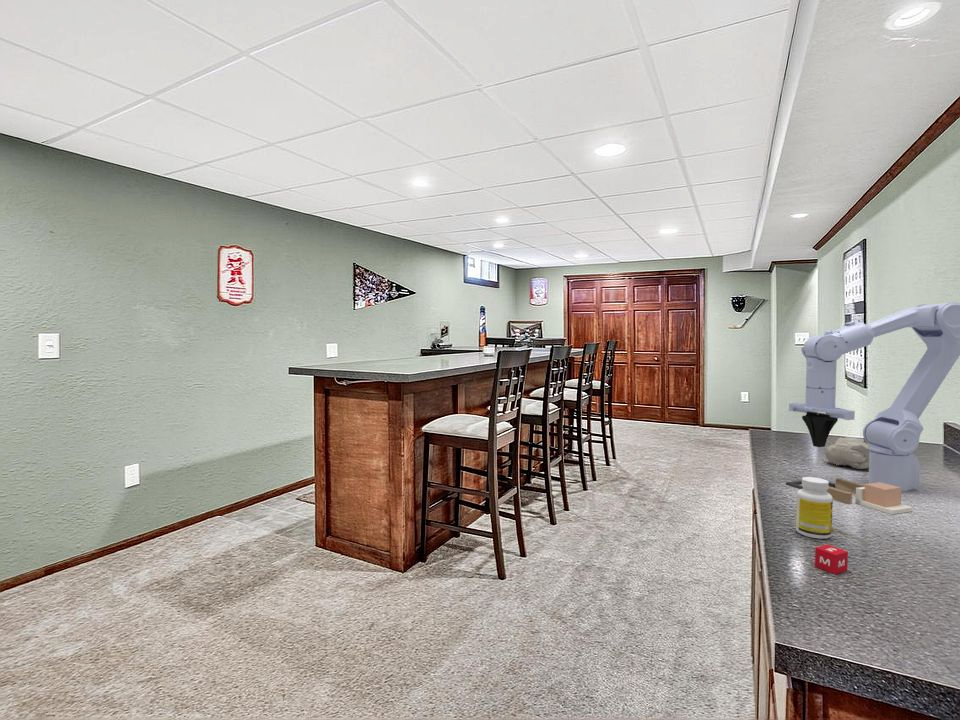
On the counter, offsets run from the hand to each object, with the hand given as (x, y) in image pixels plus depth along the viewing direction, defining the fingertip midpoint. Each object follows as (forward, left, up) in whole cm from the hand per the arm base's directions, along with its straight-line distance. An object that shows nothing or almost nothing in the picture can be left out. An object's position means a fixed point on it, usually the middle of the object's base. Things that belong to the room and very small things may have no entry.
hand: (818, 446), depth 117 cm
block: (+2, +15, -8) cm, 18 cm away
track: (+2, +11, -10) cm, 15 cm away
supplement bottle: (+26, +20, -10) cm, 34 cm away
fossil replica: (-27, -12, -10) cm, 31 cm away
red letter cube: (+36, +31, -10) cm, 49 cm away
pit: (+2, 0, -10) cm, 10 cm away
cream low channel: (+2, +16, -9) cm, 18 cm away
